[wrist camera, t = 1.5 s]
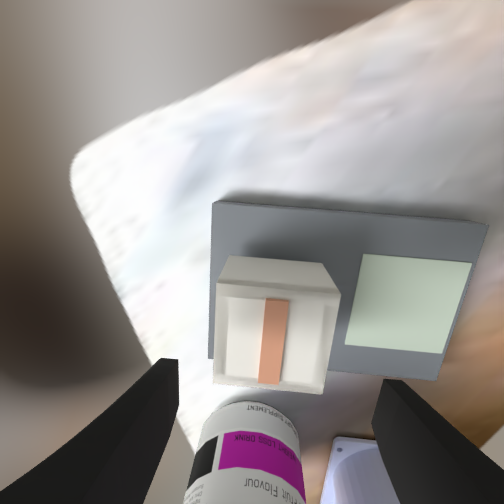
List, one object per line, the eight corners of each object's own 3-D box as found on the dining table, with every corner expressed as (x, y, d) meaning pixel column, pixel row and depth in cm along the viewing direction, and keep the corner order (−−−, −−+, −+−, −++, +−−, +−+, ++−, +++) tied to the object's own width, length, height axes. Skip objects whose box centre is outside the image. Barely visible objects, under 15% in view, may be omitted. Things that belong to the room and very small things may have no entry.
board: (423, 365, 20) (436, 382, 18) (212, 345, 20) (207, 359, 19) (469, 220, 16) (490, 225, 15) (216, 200, 17) (211, 203, 15)
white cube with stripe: (309, 342, 17) (323, 397, 13) (225, 334, 17) (212, 386, 13) (321, 263, 15) (342, 296, 11) (229, 255, 15) (215, 285, 11)
